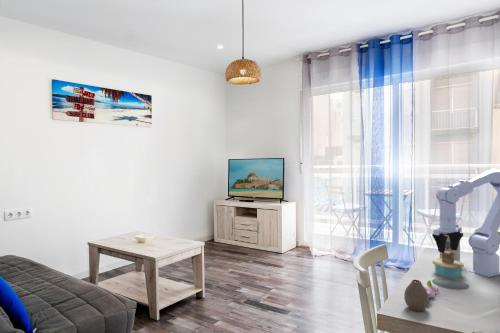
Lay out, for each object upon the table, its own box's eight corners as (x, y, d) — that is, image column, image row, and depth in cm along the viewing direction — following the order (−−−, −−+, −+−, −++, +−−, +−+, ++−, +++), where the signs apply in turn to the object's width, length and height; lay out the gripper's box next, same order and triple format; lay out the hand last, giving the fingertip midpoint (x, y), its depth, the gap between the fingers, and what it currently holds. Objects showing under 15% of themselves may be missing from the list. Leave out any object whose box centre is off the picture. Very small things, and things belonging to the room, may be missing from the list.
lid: (444, 259, 146) (444, 247, 146) (470, 265, 136) (470, 253, 136) (426, 262, 142) (426, 250, 141) (451, 269, 132) (451, 257, 131)
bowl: (444, 270, 145) (444, 259, 145) (465, 276, 137) (465, 265, 137) (430, 273, 141) (430, 262, 141) (450, 280, 133) (450, 268, 133)
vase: (431, 314, 103) (431, 285, 103) (407, 312, 104) (407, 283, 104) (424, 305, 110) (424, 277, 110) (401, 303, 111) (401, 276, 111)
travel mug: (446, 259, 161) (446, 221, 161) (463, 263, 155) (463, 223, 154) (436, 261, 157) (436, 222, 157) (453, 266, 151) (453, 225, 150)
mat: (445, 278, 135) (445, 276, 135) (476, 287, 125) (476, 286, 125) (424, 282, 130) (424, 281, 130) (455, 293, 119) (455, 291, 119)
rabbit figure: (424, 293, 123) (409, 298, 113) (425, 276, 124) (410, 279, 113) (444, 298, 119) (430, 303, 108) (444, 280, 120) (431, 284, 109)
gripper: (444, 220, 132) (445, 255, 132) (469, 217, 138) (469, 251, 138) (428, 217, 138) (428, 251, 139) (452, 215, 145) (452, 247, 145)
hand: (447, 251), depth 139 cm, fingers open, 7 cm apart
